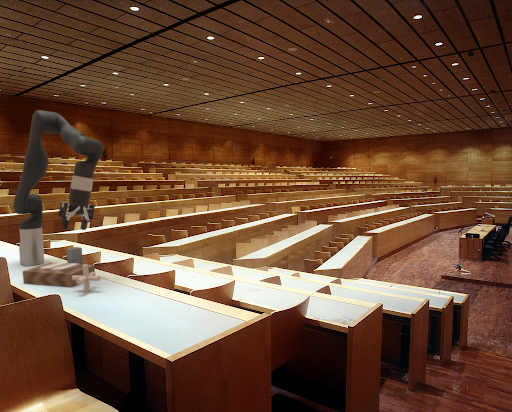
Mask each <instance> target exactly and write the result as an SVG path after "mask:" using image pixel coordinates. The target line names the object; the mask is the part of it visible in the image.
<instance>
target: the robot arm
mask: <svg viewBox="0 0 512 412" xmlns="http://www.w3.org/2000/svg"><path fill="white" fill-rule="evenodd" d="M44 134H53V135H54V134H58V135H60V138H61V140H62V141H63V142H64V143H65V144H67V145H68V146H70V148H71V149H72V150H73V152H75V153H77V154H78V155H82V156H85V157H87V158H86V159H85V160H82V161H81V160H80V161H76V162H75V164H74V170H73V176H72V179H71V182H70V188H69V194H68V200H69V201H68V202H65V201H61V202H60V204H59V205H60V206H59V211H58V213H57V217H58V218H59V219H61V229H62V230H64V231H67V230H68V229H69V224H70V219H71V218H72V217H73V216H74V215H79V216H81V219H82V220H81V223H80V224H81V225H80V230H83V231H85V230H86V229H88V222H89V221H90V220H93V218H94V215H95V214H94V213H95V204H91V203H89V202H91V195H92V192H93V191H92V190H93V184H94V183H93V182H94V179H93V178H94V176H95V175H94V174H95V169H96V166H97V165H98V162H99V161H100V159H101V157H102V155H103V153H104V152H103V151H104V147H103V143H102V142H101V141H100V140H98V139H95V138H90V137H88V136H86V135H85V134H84V133H83V132H82V131H80V130H78V129H77V128H75V127H74V126H72V125H71V124H70V123H69V122H68V120H66V119H65V118H64V117H63V116H62V114H60V113H58V112H55V111H49V110H48V111H47V110H42V109H41V110H40V109H38V110H36V111H34V113H33V114H32V117H31V124H30V132H29V139H28V146H27V151H26V152H25V158H24V162H23V165H22V171H21V176H20V179H19V184H18V187H17V190H16V192H15V195H14V198H13V203H12V204H13V206H12V207H13V210H14V213H16V214H17V215H29V217H27V218H26V219H24V220H23V221H21V222H19V224H18V226H19V227H18V228H19V237H20V238H19V240H20V241H19V242H20V244H18V247H19V248H18V249H19V250H18V251H19V262H20V263H19V264H20V265H21V266H24V267H26V266H27V267H31V266H40V265H43V264H45V250H44V249H45V248H44V237H43V234H44V233H43V219H44V218H43V213H44V212H43V211H44V210H43V209H44V208H43V206H44V205H43V200H42V196H40V194H37V193H31V191H32V190H33V188H35V186H36V185H37V184H38V183H39V182H40V181H41V180H43V178H44V177H45V176H46V174H47V171H48V167H49V156H48V154H47V152H46V150H45V147H44V146H43V143H42V138H43V135H44Z"/></svg>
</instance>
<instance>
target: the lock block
mask: <svg viewBox="0 0 512 412" xmlns="http://www.w3.org/2000/svg"><path fill="white" fill-rule="evenodd" d="M66 259H67V260H66V261H67V262H66V263H78V264H83V263H84V261H83V260H84V259H83V249H82V247H79V246H74V247H69V248H66Z"/></svg>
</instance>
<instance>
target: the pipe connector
mask: <svg viewBox="0 0 512 412" xmlns="http://www.w3.org/2000/svg"><path fill="white" fill-rule="evenodd" d="M88 265H89V264H84V265H83V276H72V280H77V281H76V283H77V284H78V285H81V284H82V283H83V292H84V293H88V292H90V282H92V281H93V282H100V280H101V276H100V275H96V271H95V272H91V273H89V272H88Z"/></svg>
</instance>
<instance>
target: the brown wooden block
mask: <svg viewBox="0 0 512 412" xmlns="http://www.w3.org/2000/svg"><path fill="white" fill-rule="evenodd" d="M83 265H84V264H78V263H67V262H57V261H56V262H46V263H42V264H39V265H36V266H34V267H32V268H31V267H30V268H28V269H25V270H23V271H22V280H23V284H24V285H25V284H26V285H39V286H51V287H64V288H65V287H66V288H73V287H75V286H77V285H79V284H77V283H76V281H77V280H72V276H83ZM95 269H96V268H95V265H94V264H88V272H89V273H91V272H95V273H96V271H95Z"/></svg>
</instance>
